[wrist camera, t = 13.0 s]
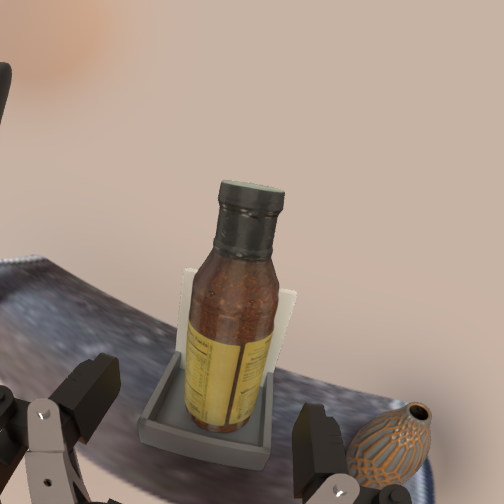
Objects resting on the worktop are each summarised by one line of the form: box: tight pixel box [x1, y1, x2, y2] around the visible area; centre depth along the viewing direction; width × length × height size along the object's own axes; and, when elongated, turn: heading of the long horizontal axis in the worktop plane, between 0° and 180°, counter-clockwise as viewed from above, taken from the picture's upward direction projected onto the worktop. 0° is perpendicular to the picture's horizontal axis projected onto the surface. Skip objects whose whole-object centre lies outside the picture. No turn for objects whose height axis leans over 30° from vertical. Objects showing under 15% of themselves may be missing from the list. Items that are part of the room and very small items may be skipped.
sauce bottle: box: [184, 180, 285, 433], centre depth 20 cm, size 6×6×20 cm
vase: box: [346, 402, 432, 490], centre depth 16 cm, size 7×7×9 cm
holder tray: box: [138, 268, 297, 471], centre depth 22 cm, size 10×11×12 cm
